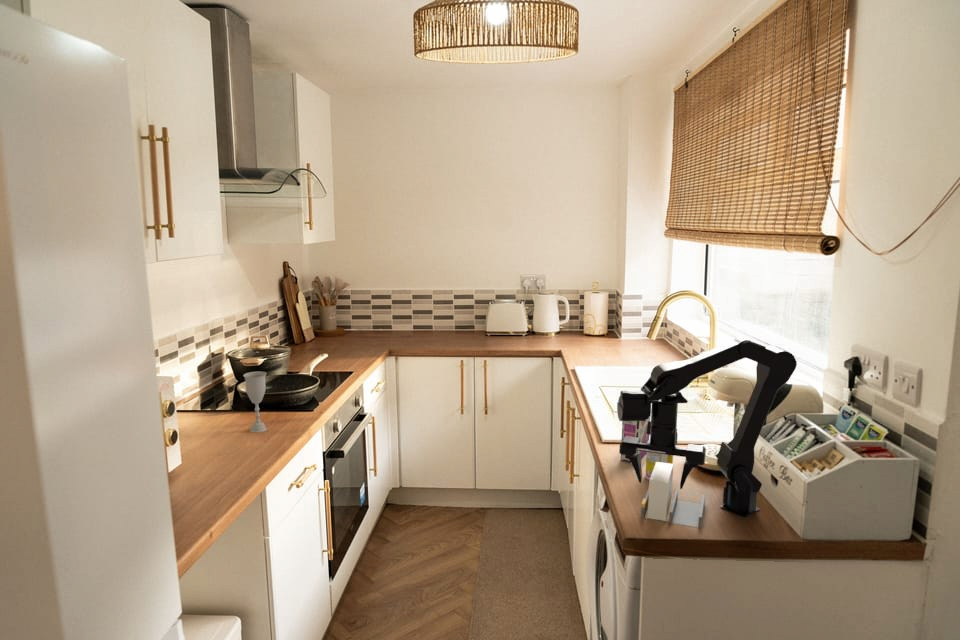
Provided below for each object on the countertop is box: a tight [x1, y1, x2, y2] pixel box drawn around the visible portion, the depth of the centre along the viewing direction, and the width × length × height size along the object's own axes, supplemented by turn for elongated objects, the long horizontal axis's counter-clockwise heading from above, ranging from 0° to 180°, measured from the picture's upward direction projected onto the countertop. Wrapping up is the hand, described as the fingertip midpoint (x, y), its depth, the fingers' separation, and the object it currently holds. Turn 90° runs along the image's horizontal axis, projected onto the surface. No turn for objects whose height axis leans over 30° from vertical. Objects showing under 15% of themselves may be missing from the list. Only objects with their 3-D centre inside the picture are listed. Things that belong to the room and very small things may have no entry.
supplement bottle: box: [645, 439, 674, 480], centre depth 176 cm, size 7×7×13 cm
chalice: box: [242, 370, 268, 434], centre depth 213 cm, size 7×7×18 cm
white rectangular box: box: [648, 462, 674, 521], centre depth 158 cm, size 4×12×9 cm, turn 159°
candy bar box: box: [620, 414, 651, 463], centre depth 191 cm, size 11×5×16 cm, turn 149°
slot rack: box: [640, 487, 706, 529], centre depth 157 cm, size 13×13×4 cm
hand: (660, 485), depth 158 cm, fingers open, 9 cm apart
